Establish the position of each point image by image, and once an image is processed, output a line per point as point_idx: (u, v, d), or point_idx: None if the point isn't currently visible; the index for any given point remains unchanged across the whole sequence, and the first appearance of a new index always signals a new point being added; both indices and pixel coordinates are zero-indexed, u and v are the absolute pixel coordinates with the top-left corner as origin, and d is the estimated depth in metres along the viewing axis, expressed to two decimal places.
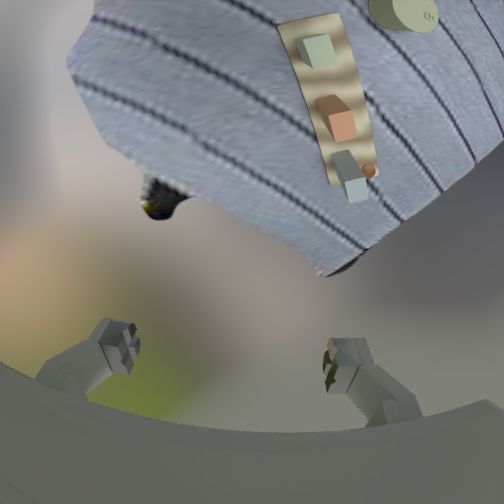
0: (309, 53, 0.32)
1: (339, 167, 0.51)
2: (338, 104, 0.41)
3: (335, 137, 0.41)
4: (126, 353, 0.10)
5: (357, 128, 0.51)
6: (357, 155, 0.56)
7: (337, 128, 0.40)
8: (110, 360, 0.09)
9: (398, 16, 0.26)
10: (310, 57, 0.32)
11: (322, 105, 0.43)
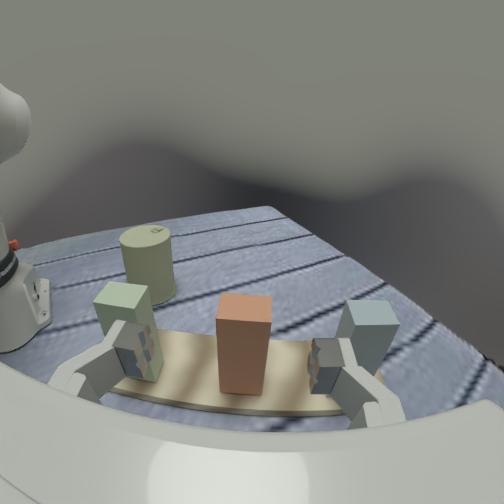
0: (112, 303, 0.25)
1: None
2: None
3: (260, 320, 0.25)
4: (141, 356, 0.10)
5: (289, 356, 0.36)
6: None
7: (244, 314, 0.25)
8: (125, 363, 0.09)
9: (142, 246, 0.41)
10: (118, 305, 0.25)
11: (218, 360, 0.28)
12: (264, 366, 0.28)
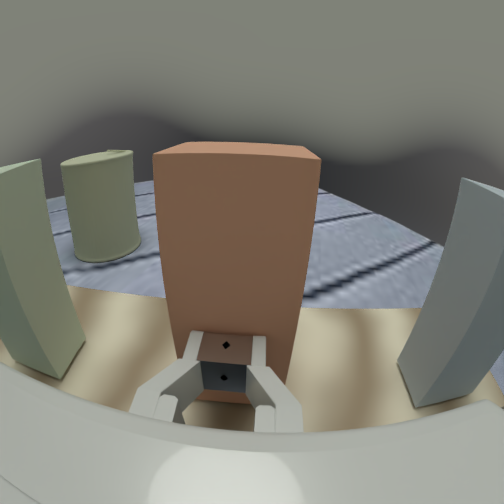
0: None
1: (468, 319, 0.09)
2: None
3: (288, 155, 0.08)
4: None
5: (328, 334, 0.18)
6: None
7: (237, 150, 0.08)
8: (207, 377, 0.09)
9: (86, 162, 0.24)
10: None
11: None
12: (293, 329, 0.10)
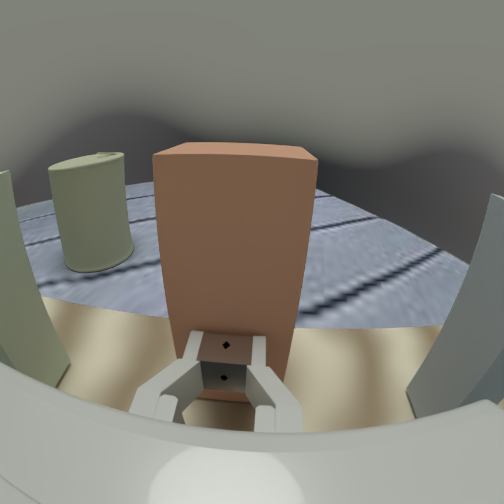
0: None
1: (490, 356, 0.07)
2: None
3: (285, 156, 0.08)
4: None
5: (332, 360, 0.16)
6: None
7: (235, 151, 0.09)
8: (207, 377, 0.09)
9: (73, 166, 0.22)
10: None
11: None
12: (291, 327, 0.11)
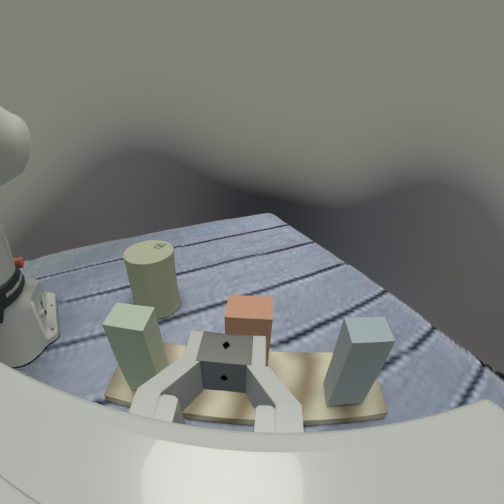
0: (121, 326, 0.26)
1: (338, 374, 0.28)
2: None
3: (263, 317, 0.29)
4: None
5: (290, 367, 0.37)
6: None
7: (248, 313, 0.30)
8: (207, 377, 0.09)
9: (146, 263, 0.43)
10: (126, 327, 0.26)
11: None
12: (267, 358, 0.32)
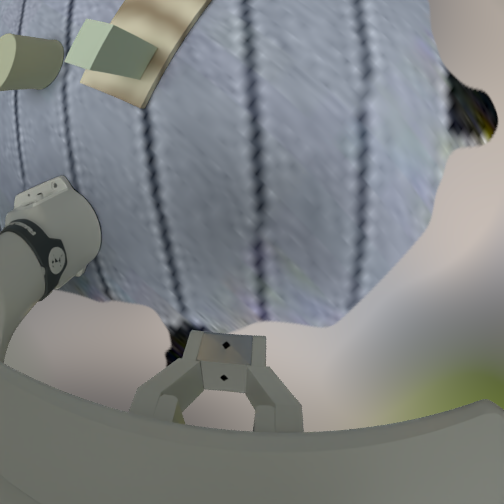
0: (98, 47, 0.17)
1: None
2: None
3: None
4: None
5: None
6: None
7: None
8: (207, 377, 0.09)
9: (13, 57, 0.18)
10: (102, 41, 0.17)
11: None
12: None
